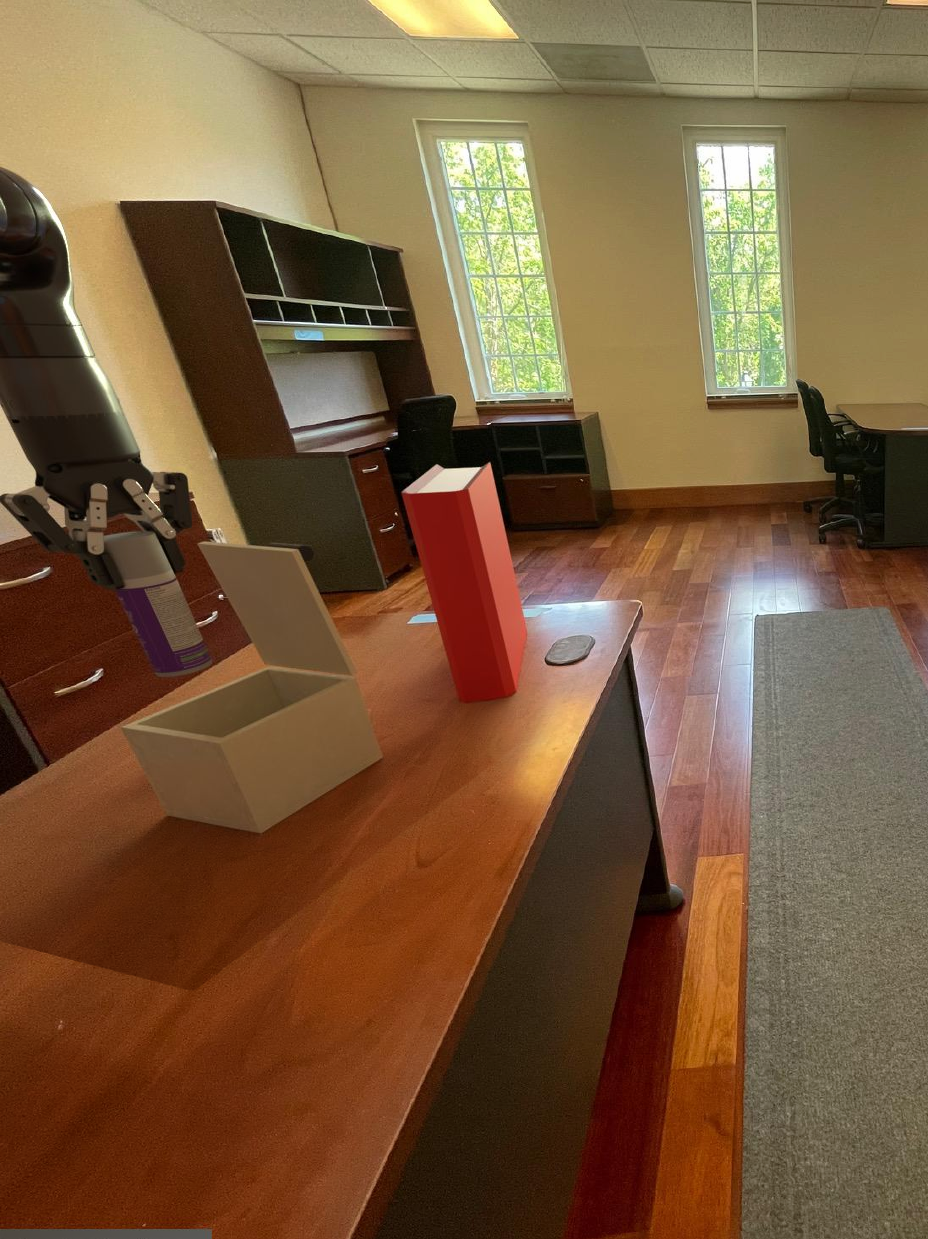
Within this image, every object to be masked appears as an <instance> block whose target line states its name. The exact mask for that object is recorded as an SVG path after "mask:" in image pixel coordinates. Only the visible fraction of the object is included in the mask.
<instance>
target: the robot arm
mask: <svg viewBox="0 0 928 1239" xmlns="http://www.w3.org/2000/svg"><path fill="white" fill-rule="evenodd" d="M74 288H75V286H74V279H73V272H72V264H71V258H70V249H69V244H68V239H67V235H66V232H65V228H64V227H63V223H62V221H61V219H60V218H59V216H58V213H56V211H55V209H54V207H52V205H51V203H50V202H49V201H48V199H46V197H45V195H43V193H42V192H41V191H40V190H39V189H38V188H36V186H34V185H33V184H32V183H31V182H29V181H28V180H27V179H25V178H24V177H23V176H21V175H20V174H18V173H16V172H14V171H12V170H11V169H8V168H5V167H3V166H0V407H1V409H2V411H3V413H4V415H5V418H6V419H7V421H8V423H9V425H10V427H11V430H12V431H13V433H14V435H15V437H16V439H17V441H18V444H19V445H20V448H21V449H22V451H23V453H24V456H25V457H26V459H27V461H28V462H29V464H30V465H31V466H32V467H33V469H34V471H35V479H34V486H32V487H29V488H27V489H24V490H21V491H18V492H16V493H7V492H5V493H2V494H1V495H0V504H1V505H2V507H4V509H6V510H7V511H8V512H9V514H11V515H12V517H14V519H15V520H16V521H17V522H18V523H19V524H20V525H21V526H22V527H23V528H24V529H25V530H26V531H27V533H29V534H30V535H31V536H32V537H33V539H35V541H36V542H37V543H38V544H39V545H40V546H41V547H42V548H43V549H44V550H45V551H47V552H49V553H51V552H52V553H64V554H74V555H75V556H77V557H78V558H79V560H80V563H81V565H82V567H83V568H84V570H85V572H86V574H87V576H88V578H89V580H90V582H92V584H94V585H95V586H100V587H101V588H102V589H104V590H110V591H115V590H117V589H121V588H124V583H123V581H122V579H121V577H120V575H119V573H118V570H117V568H116V566H115V564H114V562H113V560H112V558H111V556H110V554H109V553H104V552H103V551H104V536H105V535H104V534H105V531H107V529H108V519H110V518H114V517H116V516H118V515H120V514H121V515H124V516H125V517H126V518H127V519H128V520H130V521H132V522H133V523H135V524H136V525H137V526H138V527H139V529H140V530H141V531H151V532H154V533H155V534H156V537H157V539H158V541H159V543H160V545H161V547H162V549H163V551H164V553H165V555H166V558H167V560H168V562H169V564H170V566H171V568H172V570H173V572H174V574H175V575H178V574H182V573H183V572H184V568H183V567H185V566H186V560H185V558H184V556H183V553H182V551H181V548H180V547H179V544H178V542H177V540H176V538H177V535H178V533H180V532H182V531H183V530H188V529H191V528H192V526H193V518H192V508H191V499H190V490H189V489H190V486H189V479H188V476H187V475H186V474H185V473H183V472H177V471H153V470H151V468H150V467H148V466H147V464H145V462H143V460H142V458H141V449H140V447H139V445H138V442H137V440H136V438H135V435H134V433H133V431H132V428H131V426H130V424H129V422H128V419H127V417H126V414H125V412H124V410H123V407H122V405H121V402H120V399H119V397H118V395H117V394H116V390H115V389H114V387H113V384H112V382H111V381H110V379H109V377H108V374H106V373H105V370H104V369H103V368H102V366H101V364H100V362H99V360H98V358H97V357H96V353H95V351H94V349H93V347H92V344H91V342H90V339H89V337H88V335H87V332H86V330H85V327H84V326H83V324H82V322H81V320H80V318H79V315H78V313H77V311H76V306H75V289H74ZM152 486H153V488H154V489H155V490H156V491H157V492H158V499H159V507H158V506H157V505H156V504H155V503H154V502H153V500H152V499H151V498H150V497H149V494H150V491H151V488H152ZM48 499H50V500H52V501H53V502H55V503H57V504H59V505H60V506H62V507H63V510H64V512H63V513H64V525H65V527H66V529H68V532H66V531H65V529H64V528H63V527H62V526H61V525H60V524H59V523H58V522H57V520H56V519H55V518H54V517H53V516H52V515H51V514H50V513H49V511H50V508H51V507H50V505H49V503H48Z"/></svg>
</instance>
